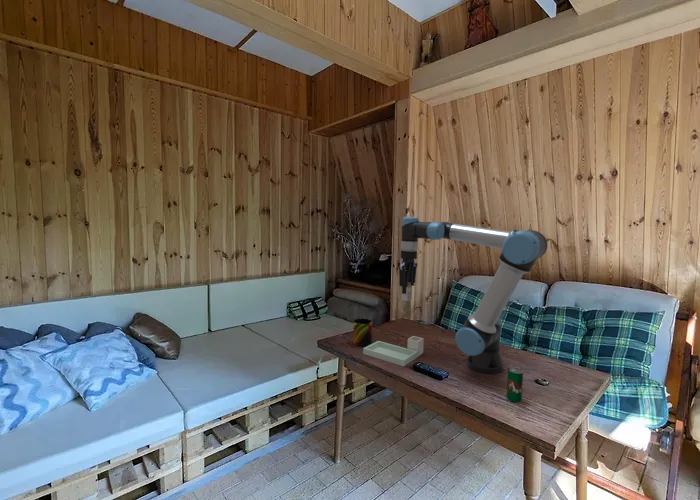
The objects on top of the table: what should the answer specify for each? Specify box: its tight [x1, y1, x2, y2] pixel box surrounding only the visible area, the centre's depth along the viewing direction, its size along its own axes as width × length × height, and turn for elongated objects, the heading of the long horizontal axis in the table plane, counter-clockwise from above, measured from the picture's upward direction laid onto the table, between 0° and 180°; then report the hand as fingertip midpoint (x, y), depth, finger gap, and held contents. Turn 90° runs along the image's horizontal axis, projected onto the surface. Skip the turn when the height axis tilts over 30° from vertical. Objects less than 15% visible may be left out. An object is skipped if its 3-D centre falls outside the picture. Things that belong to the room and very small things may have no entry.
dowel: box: [402, 282, 411, 319], centre depth 161 cm, size 3×3×17 cm
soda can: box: [505, 365, 524, 403], centre depth 124 cm, size 5×5×12 cm
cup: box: [406, 335, 425, 357], centre depth 164 cm, size 6×6×8 cm
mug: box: [352, 318, 373, 348], centre depth 179 cm, size 10×14×12 cm
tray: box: [362, 340, 419, 367], centre depth 161 cm, size 22×13×4 cm, turn 52°
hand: (406, 299), depth 161 cm, fingers closed on dowel, 3 cm apart
